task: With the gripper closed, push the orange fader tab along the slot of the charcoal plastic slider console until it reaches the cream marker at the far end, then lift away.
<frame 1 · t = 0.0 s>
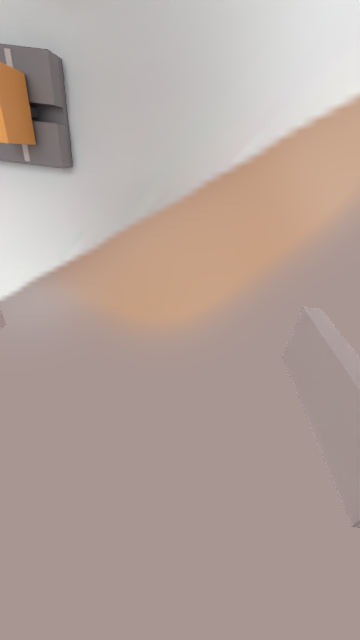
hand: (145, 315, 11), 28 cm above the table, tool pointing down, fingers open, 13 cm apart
fader tab: (7, 107, 26), point 5 cm above the table, slide at 8.0 cm
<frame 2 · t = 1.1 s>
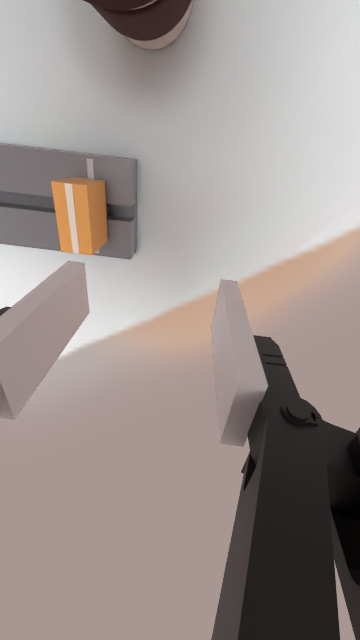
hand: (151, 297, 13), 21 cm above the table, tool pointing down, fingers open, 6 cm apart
fader tab: (86, 213, 26), point 5 cm above the table, slide at 8.0 cm
slider console: (34, 197, 30), on the table
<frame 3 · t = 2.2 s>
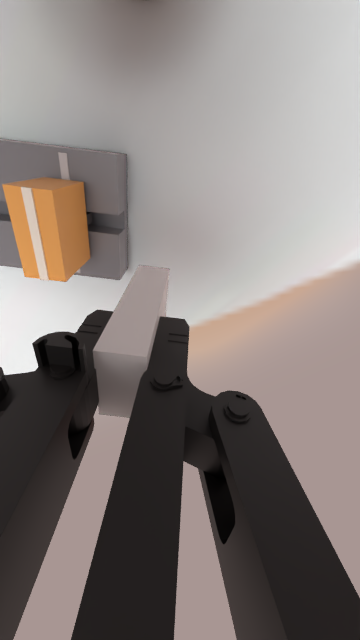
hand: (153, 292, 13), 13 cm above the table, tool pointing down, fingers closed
fader tab: (60, 225, 20), point 5 cm above the table, slide at 8.0 cm
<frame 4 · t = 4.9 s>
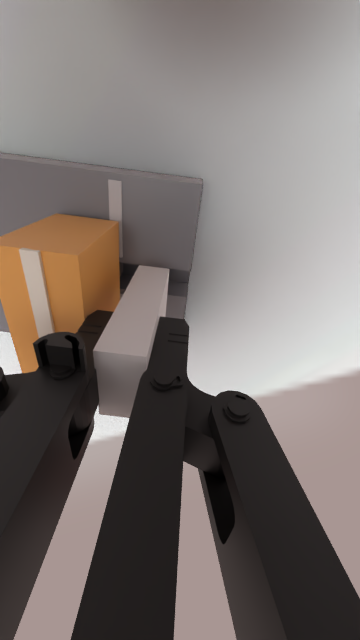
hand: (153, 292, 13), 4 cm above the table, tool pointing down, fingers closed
fader tab: (81, 288, 13), point 5 cm above the table, slide at 6.7 cm, touching gripper
slider console: (7, 241, 17), on the table
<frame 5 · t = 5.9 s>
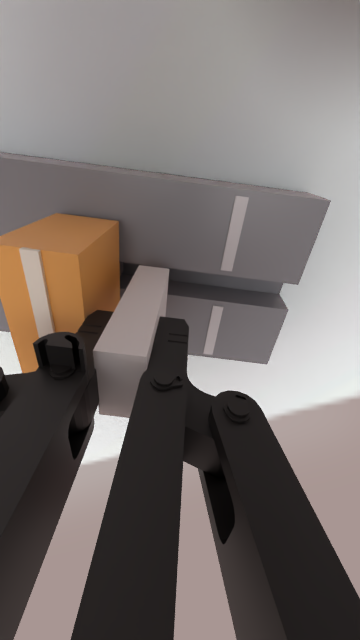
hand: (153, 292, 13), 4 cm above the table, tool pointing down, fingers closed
fader tab: (81, 287, 13), point 5 cm above the table, slide at 0.9 cm, touching gripper
slider console: (96, 253, 17), on the table
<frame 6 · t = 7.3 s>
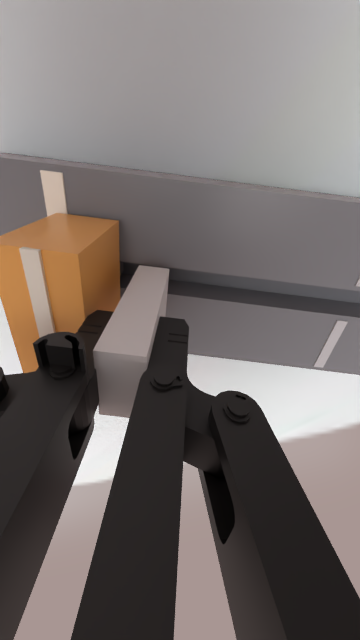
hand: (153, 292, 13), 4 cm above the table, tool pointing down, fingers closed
fader tab: (81, 287, 13), point 5 cm above the table, slide at -6.4 cm, touching gripper
slider console: (207, 266, 17), on the table
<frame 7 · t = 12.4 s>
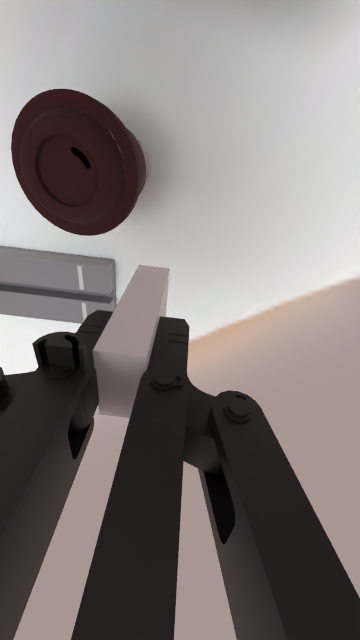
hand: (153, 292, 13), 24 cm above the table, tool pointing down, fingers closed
coffee cup: (119, 165, 32), on the table
slider console: (39, 281, 41), on the table
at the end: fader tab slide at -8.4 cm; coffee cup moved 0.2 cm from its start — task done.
